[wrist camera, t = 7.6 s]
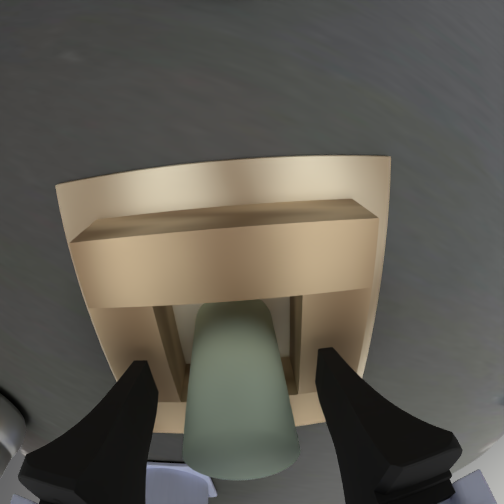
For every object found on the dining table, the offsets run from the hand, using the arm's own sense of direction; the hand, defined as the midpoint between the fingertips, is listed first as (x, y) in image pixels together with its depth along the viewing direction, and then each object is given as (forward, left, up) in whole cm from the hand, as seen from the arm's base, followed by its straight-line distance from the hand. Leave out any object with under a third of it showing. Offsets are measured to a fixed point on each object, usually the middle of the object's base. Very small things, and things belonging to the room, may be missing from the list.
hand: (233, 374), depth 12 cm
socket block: (0, 0, -4) cm, 4 cm away
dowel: (0, 0, -4) cm, 4 cm away
